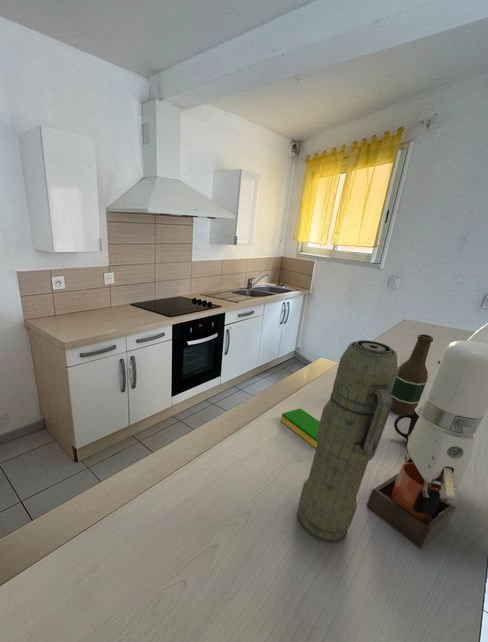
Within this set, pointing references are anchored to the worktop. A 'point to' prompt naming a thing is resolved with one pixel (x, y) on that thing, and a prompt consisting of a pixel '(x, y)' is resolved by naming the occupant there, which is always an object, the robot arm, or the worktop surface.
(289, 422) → the dish sponge
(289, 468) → the worktop surface
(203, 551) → the worktop surface
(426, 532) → the brown rectangular open box
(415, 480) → the cup
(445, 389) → the robot arm
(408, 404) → the beer bottle
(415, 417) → the mug
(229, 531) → the worktop surface
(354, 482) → the thermos
